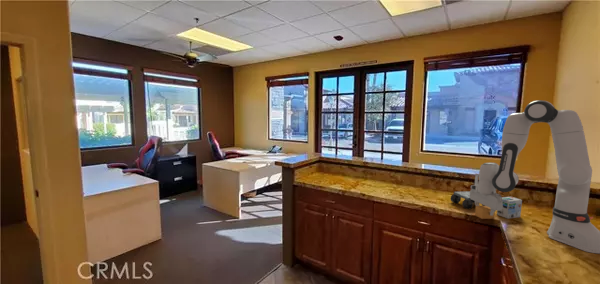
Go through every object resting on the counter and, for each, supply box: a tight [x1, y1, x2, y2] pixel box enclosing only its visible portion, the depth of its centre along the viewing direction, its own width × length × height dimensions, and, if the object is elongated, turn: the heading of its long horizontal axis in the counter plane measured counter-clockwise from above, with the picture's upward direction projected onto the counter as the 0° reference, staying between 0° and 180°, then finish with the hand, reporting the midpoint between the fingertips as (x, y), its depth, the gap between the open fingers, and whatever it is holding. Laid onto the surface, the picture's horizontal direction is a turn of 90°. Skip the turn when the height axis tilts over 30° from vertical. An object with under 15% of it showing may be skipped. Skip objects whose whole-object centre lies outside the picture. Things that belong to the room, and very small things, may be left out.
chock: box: [474, 205, 496, 220], centre depth 155 cm, size 5×8×6 cm, turn 97°
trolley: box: [450, 173, 485, 210], centre depth 174 cm, size 13×20×20 cm, turn 97°
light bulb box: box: [496, 196, 523, 219], centre depth 157 cm, size 11×7×11 cm, turn 105°
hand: (484, 212), depth 156 cm, fingers open, 8 cm apart
